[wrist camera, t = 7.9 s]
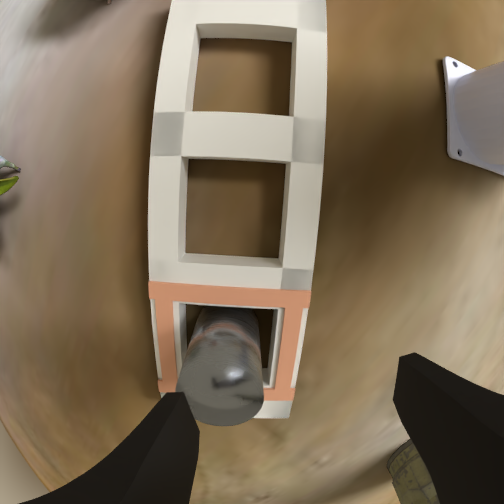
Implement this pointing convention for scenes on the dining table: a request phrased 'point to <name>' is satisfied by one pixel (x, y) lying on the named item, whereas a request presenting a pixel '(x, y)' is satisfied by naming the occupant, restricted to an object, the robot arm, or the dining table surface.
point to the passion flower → (7, 183)
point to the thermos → (411, 476)
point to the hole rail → (243, 149)
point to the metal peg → (223, 367)
